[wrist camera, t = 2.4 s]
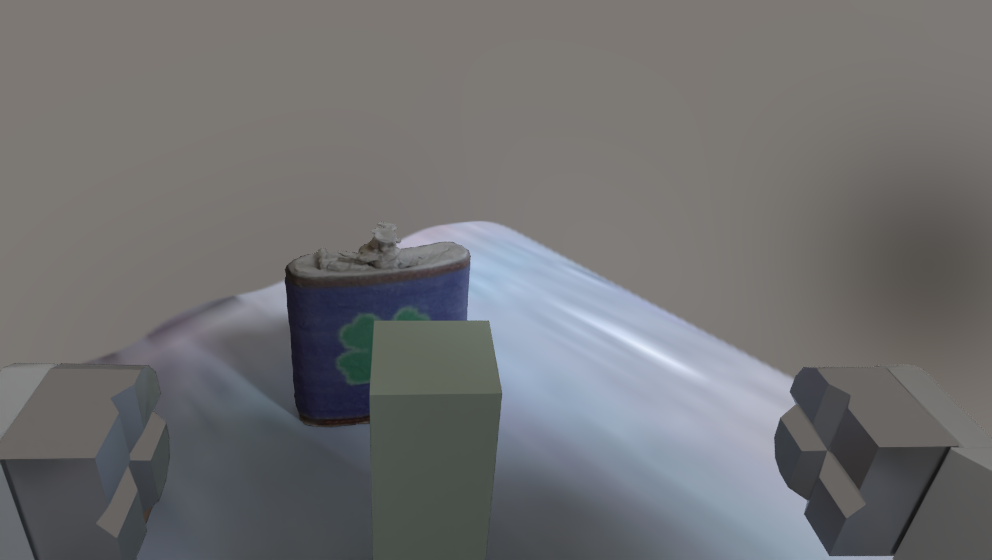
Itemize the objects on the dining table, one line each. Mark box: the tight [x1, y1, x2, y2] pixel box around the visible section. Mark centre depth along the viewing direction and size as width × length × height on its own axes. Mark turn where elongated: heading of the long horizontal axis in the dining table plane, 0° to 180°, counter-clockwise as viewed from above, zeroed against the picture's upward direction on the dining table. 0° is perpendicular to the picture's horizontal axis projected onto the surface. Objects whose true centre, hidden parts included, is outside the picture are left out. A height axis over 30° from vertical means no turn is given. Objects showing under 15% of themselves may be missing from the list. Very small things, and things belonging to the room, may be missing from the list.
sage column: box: [370, 321, 502, 560], centre depth 27 cm, size 4×4×12 cm
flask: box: [285, 221, 471, 427], centre depth 37 cm, size 9×3×11 cm, turn 110°
